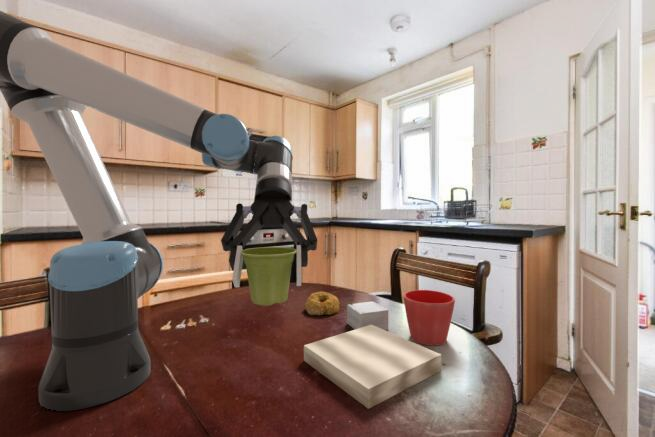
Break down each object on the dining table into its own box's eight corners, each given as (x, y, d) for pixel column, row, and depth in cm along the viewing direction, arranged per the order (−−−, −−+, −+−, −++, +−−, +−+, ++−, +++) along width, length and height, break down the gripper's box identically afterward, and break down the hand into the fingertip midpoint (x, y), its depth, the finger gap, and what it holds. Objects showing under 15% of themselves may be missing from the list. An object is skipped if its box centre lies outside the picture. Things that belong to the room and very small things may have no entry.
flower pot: (449, 353, 63) (449, 306, 63) (396, 341, 69) (397, 298, 68) (458, 335, 72) (458, 293, 72) (411, 326, 78) (411, 287, 77)
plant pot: (286, 311, 48) (286, 255, 48) (230, 307, 50) (230, 253, 50) (303, 294, 57) (303, 247, 57) (255, 291, 59) (255, 246, 59)
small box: (389, 330, 75) (389, 309, 75) (360, 335, 73) (360, 313, 72) (373, 319, 83) (373, 300, 83) (346, 323, 80) (346, 304, 80)
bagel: (296, 313, 88) (296, 296, 88) (318, 303, 97) (318, 288, 97) (326, 320, 83) (327, 302, 82) (346, 309, 92) (346, 293, 92)
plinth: (368, 408, 46) (368, 388, 46) (303, 360, 60) (303, 345, 60) (441, 370, 56) (441, 354, 56) (371, 337, 71) (371, 324, 71)
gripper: (324, 202, 69) (333, 292, 54) (222, 202, 67) (202, 295, 52) (327, 176, 64) (337, 268, 49) (216, 174, 62) (191, 270, 46)
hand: (267, 282), depth 50 cm, fingers closed on plant pot, 9 cm apart
